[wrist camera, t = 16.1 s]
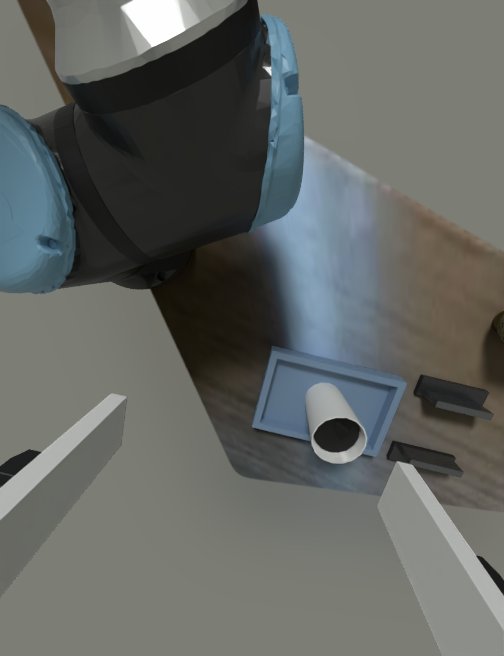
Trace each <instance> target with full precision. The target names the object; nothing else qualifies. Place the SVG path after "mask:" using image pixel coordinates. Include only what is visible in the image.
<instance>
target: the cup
mask: <svg viewBox="0 0 504 656" xmlns="http://www.w3.org/2000/svg"><path fill="white" fill-rule="evenodd" d="M493 326H494V329H495V330H496V331H497V332H498V335H499V338H500V339H501V340H502V342H503V343H504V311H502V312H500V313H499V314H498V315H497V316H496V317H495V319H494V321H493Z"/></svg>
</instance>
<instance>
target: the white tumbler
mask: <svg viewBox="0 0 504 656" xmlns="http://www.w3.org/2000/svg"><path fill="white" fill-rule="evenodd" d="M305 406H306V412H307V419H308V425H309V431H310V438H311V444H312V446H313V449H314V451H315V453H316V454H317V455H318V456H319V457H320V458H321V459H323V460H325V461H327V462H330V463H338V464H343V463H346V462H350V461H353V460H354V459H356V458H357V457H358V456H360V455H361V454H362V452H363V451H364V449H365V447H366V443H367V435H366V432H365V429H364V427H363V426H362V424H361V423H360V421H359V420H358V418H357V417H356V415H355V413H354V412H353V410H352V409H351V407H350V406H349V404H348V403H347V401H346V400H345V398H344V396H343V395H342V393H341V392H340V390H339V389H338V388H337V387H336V386H334V385H332V384H330V383H318V384H315V385H313V386H312V387H311V388H310V389H308V391H307V393H306V395H305Z"/></svg>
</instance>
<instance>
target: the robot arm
mask: <svg viewBox="0 0 504 656" xmlns="http://www.w3.org/2000/svg"><path fill="white" fill-rule="evenodd" d="M46 1H47V2H48V4H49V6H50V7H51V10H52V13H53V17H54V21H55V24H56V28H55V70H56V73H57V75H58V76H59V78H60V80H61V81H62V82H63V84H64V85H65V87H66V88H67V90H68V91H69V93H70V94H71V96H72V97H73V99H74V100H75V102H73V103H71V104H68V105H66V106H64V107H62V108H59V109H56V110H54V111H52V112H49V113H47V114H45V115H42V116H40V117H38V118H35V119H28V120H26V119H24V118H23V117H21V116H20V115H19V114H18V113H17V112H15V111H14V110H12V109H10V108H9V107H7V106H4V105H0V291H1V292H7V293H28V292H29V293H30V292H31V293H34V294H38V293H40V294H45V293H49V292H52V291H54V290H56V289H61V288H68V287H74V286H81V285H88V284H95V283H102V282H110V281H111V282H113V283H115V284H117V285H120V286H123V287H126V288H130V289H150V288H155V287H158V286H162V285H164V284H166V283H168V282H170V281H172V280H173V279H174V278H176V277H177V276H178V275H179V274H180V273H181V272H182V270H183V269H184V268H185V266H186V264H187V262H188V260H189V258H190V255H191V252H192V249H194V248H197V247H200V246H203V245H206V244H209V243H212V242H215V241H219V240H222V239H225V238H228V237H231V236H234V235H237V234H240V233H243V232H244V233H250V232H252V231H253V230H255V229H256V228H257V227H259V226H261V225H264V224H267V223H269V222H272V221H274V220H277V219H280V218H282V217H283V216H285V215H286V214H287V213H288V212H289V211H290V209H291V208H293V206H294V205H295V203H296V201H297V198H298V195H299V192H300V188H301V182H302V175H303V162H304V121H303V106H302V99H301V97H300V96H299V93H298V87H299V86H298V66H297V59H296V54H295V50H294V46H293V42H292V38H291V36H290V33H289V30H288V28H287V26H286V25H285V23H284V22H283V21H282V20H281V19H280V18H279V17H271V16H270V15H269V14H264V15H262V16H261V18H260V14H259V8H258V2H257V0H46ZM126 402H127V397H126V396H122V395H118V394H113V393H111V394H110V395H109V396H107V397H106V398H105V399H104V400H103V401H102V402H101V403H99V404H98V405H97V406H96V407H95V408H93V409H92V410H91V411H90V412H89V413H87V414H86V415H85V416H84V417H83V418H82V419H81V420H79V421H78V422H77V423H76V424H75V425H73V426H72V427H71V428H70V429H69V430H68V431H66V432H65V433H64V434H63V435H62V436H60V437H59V438H58V439H57V440H56V441H55V442H53V443H52V444H51V445H50V446H49V447H48V448H46V449H45V450H44V451H43V452H38V451H34V450H30V449H29V450H27V451H25V452H23V453H21V454H19V455H17V456H14V457H12V458H10V459H9V460H8V461H6V462H5V463H4V464H3V465H1V466H0V598H1V596H2V595H3V594H4V593H5V591H6V590H7V589H8V587H9V586H10V585H11V584H12V582H13V581H14V580H15V579H16V577H17V576H18V575H19V574H20V572H21V571H22V570H23V568H24V567H25V566H26V565H27V563H28V562H29V561H30V560H31V558H32V557H33V556H34V555H35V553H36V552H37V551H38V550H39V548H40V547H41V546H42V545H43V543H44V542H45V541H46V540H47V538H48V537H49V536H50V534H51V533H52V532H53V531H54V529H55V528H56V527H57V525H58V524H59V523H60V522H61V521H62V519H63V518H64V517H65V516H66V514H67V513H68V512H69V510H70V509H71V508H72V507H73V505H74V504H75V503H76V502H77V500H78V499H79V498H80V497H81V495H82V494H83V493H84V491H85V490H86V489H87V488H88V487H89V485H90V484H91V483H92V481H93V480H94V479H95V478H96V476H97V475H98V474H99V473H100V471H101V470H102V469H103V468H104V466H105V465H106V464H107V462H108V461H109V460H110V459H111V457H112V456H113V455H114V454H115V452H116V451H117V450H118V449H119V447H120V446H121V444H122V435H123V427H124V419H125V411H126ZM377 507H378V510H379V512H380V514H381V517H382V519H383V521H384V523H385V525H386V528H387V530H388V532H389V535H390V537H391V539H392V542H393V544H394V546H395V549H396V551H397V553H398V555H399V558H400V560H401V562H402V565H403V567H404V569H405V572H406V574H407V576H408V578H409V581H410V583H411V585H412V587H413V590H414V592H415V595H416V597H417V599H418V601H419V604H420V606H421V608H422V611H423V613H424V615H425V618H426V620H427V622H428V624H429V627H430V629H431V631H432V634H433V636H434V638H435V640H436V642H437V645H438V647H439V650H440V652H441V654H442V656H504V580H503V579H502V578H501V576H500V575H499V574H498V573H497V572H496V571H495V570H494V569H493V568H492V567H491V566H490V565H489V564H488V562H487V561H485V560H484V558H482V557H480V556H476V555H475V554H474V552H473V551H472V550H471V548H470V547H469V545H468V544H467V543H466V541H465V539H464V538H463V537H462V535H461V534H460V532H459V531H458V529H457V528H456V527H455V525H454V524H453V522H452V521H451V519H450V518H449V517H448V515H447V514H446V512H445V511H444V509H443V508H442V506H441V505H440V504H439V502H438V501H437V499H436V498H435V496H434V495H433V493H432V492H431V491H430V489H429V488H428V486H427V485H426V483H425V482H424V481H423V479H422V478H421V476H420V475H419V473H418V472H417V470H416V469H415V468H414V466H413V465H411V464H407V463H403V462H398V461H397V462H396V464H395V467H394V469H393V471H392V473H391V476H390V478H389V480H388V482H387V485H386V487H385V489H384V492H383V494H382V496H381V498H380V501H379V503H378V506H377Z"/></svg>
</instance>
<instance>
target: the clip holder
mask: <svg viewBox="0 0 504 656" xmlns="http://www.w3.org/2000/svg"><path fill="white" fill-rule="evenodd" d="M414 393H415V394H417V395H421V396H423V397H424V398H425V399H427V400H428V401H429V402H430V403H431V404H432V405H433V406H434V407H437V408H441V409H445V410H449V411H454V412H458V413H462V414H466V415H470V416H474V417H479V418H483V419H487V420H491V419H492V417H493V415H494V414H493V413H491V412H490V411H488V410H487V409H486V408H484V407H483V404H484V402H485V400H486V398H487V396H488V394H489V392H488V391H486V390H484V389H479V388H475V387H471V386H467V385H463V384H458V383H454V382H450V381H446V380H442V379H438V378H433V377H429V376H425V375H421V376H420V378H419V380H418V383H417V385H416V387H415V390H414ZM387 458H388V459H390V460H394V461H398V462H403V463H407V464H411V465H413V466H415V467H419V468H423V469H427V470H432V471H436V472H440V473H444V474H448V475H452V476H456V477H461V476H462V474H463V471H462V470H461V469H460V468H459V467H458V465H457V464H456V463H455V462H454V461H455V459H456V458H455V457H454V456H453V455H451V454H447V453H442V452H438V451H434V450H430V449H426V448H422V447H417V446H413V445H409V444H405V443H401V442H397V441H392V444H391V446H390V449H389V451H388V453H387Z"/></svg>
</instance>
